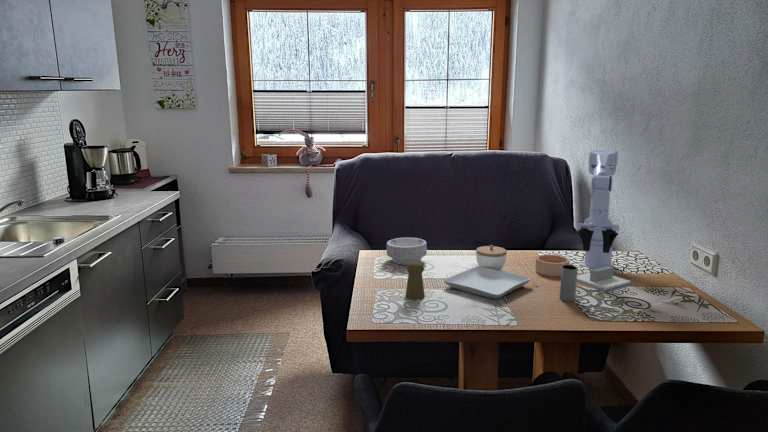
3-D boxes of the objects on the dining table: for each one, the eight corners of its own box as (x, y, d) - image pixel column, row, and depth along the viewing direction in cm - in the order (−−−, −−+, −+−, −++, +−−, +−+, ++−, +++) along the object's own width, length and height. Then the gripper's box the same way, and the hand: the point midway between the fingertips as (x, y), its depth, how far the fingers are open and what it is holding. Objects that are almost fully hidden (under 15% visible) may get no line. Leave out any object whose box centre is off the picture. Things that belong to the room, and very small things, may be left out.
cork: (426, 294, 171) (427, 260, 169) (421, 300, 166) (422, 266, 163) (408, 292, 173) (408, 259, 171) (402, 298, 168) (403, 264, 165)
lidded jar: (503, 266, 200) (505, 241, 198) (507, 275, 189) (508, 249, 187) (474, 265, 201) (475, 241, 199) (476, 274, 190) (477, 249, 188)
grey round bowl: (384, 256, 213) (384, 237, 211) (422, 255, 214) (422, 236, 212) (389, 268, 198) (388, 247, 196) (430, 267, 199) (430, 246, 198)
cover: (597, 272, 191) (598, 261, 190) (630, 283, 180) (631, 271, 179) (572, 279, 184) (573, 266, 183) (604, 290, 173) (605, 277, 172)
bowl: (550, 266, 200) (551, 253, 199) (575, 274, 191) (576, 260, 189) (528, 270, 194) (529, 257, 193) (552, 279, 185) (553, 265, 184)
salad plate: (441, 289, 177) (441, 279, 176) (477, 274, 192) (477, 264, 192) (498, 305, 163) (498, 294, 162) (532, 287, 178) (532, 277, 177)
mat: (596, 272, 193) (596, 271, 193) (637, 285, 179) (637, 283, 179) (565, 279, 185) (565, 278, 185) (605, 293, 171) (605, 292, 171)
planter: (567, 302, 164) (569, 270, 162) (556, 297, 168) (558, 266, 166) (578, 300, 166) (580, 267, 164) (567, 295, 170) (569, 264, 168)
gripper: (573, 209, 184) (570, 249, 184) (610, 210, 172) (607, 252, 171) (587, 211, 188) (584, 250, 187) (624, 212, 175) (621, 254, 175)
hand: (596, 252), depth 180 cm, fingers open, 7 cm apart
